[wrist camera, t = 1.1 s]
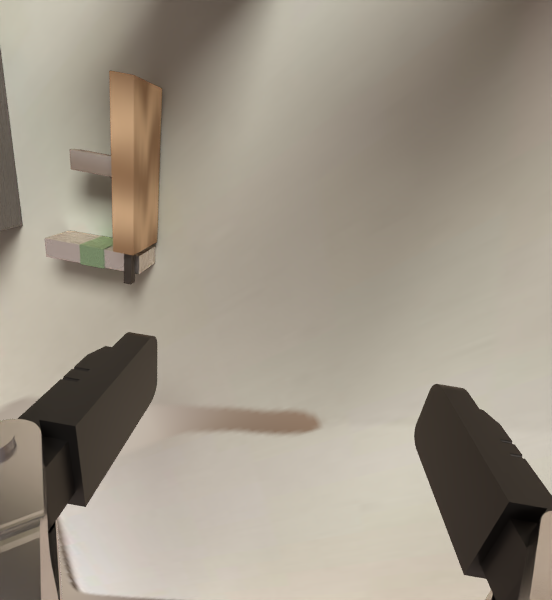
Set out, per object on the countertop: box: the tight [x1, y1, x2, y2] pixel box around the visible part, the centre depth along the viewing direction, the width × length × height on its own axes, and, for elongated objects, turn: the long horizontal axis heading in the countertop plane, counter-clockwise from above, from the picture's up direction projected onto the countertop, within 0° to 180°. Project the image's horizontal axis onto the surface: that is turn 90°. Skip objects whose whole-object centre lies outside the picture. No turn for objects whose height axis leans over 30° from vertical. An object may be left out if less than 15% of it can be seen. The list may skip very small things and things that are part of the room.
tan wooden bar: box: [70, 71, 162, 284], centre depth 27 cm, size 15×6×5 cm, turn 170°
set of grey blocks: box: [0, 51, 155, 274], centre depth 25 cm, size 15×19×7 cm
